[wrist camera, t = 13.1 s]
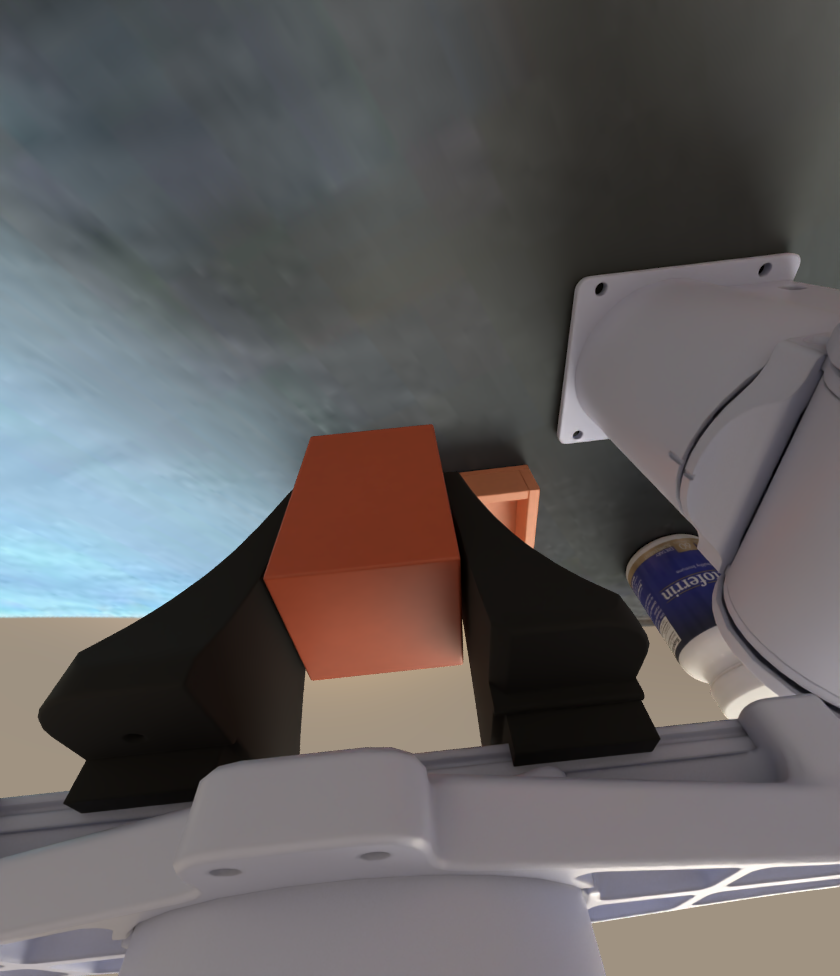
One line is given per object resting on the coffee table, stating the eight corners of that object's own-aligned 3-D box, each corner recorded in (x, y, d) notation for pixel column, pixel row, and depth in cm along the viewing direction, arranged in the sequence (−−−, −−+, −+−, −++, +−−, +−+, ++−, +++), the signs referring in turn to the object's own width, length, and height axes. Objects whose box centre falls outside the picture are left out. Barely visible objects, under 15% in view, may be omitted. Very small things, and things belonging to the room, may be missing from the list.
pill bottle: (704, 518, 26) (849, 660, 18) (705, 571, 29) (828, 711, 21) (617, 548, 27) (716, 694, 19) (627, 595, 30) (715, 738, 22)
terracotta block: (432, 423, 13) (461, 558, 8) (439, 517, 15) (463, 665, 10) (310, 435, 13) (261, 579, 8) (335, 527, 15) (310, 681, 10)
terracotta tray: (527, 464, 22) (540, 488, 20) (518, 573, 28) (528, 600, 26) (332, 487, 22) (327, 514, 20) (362, 591, 28) (360, 620, 26)
